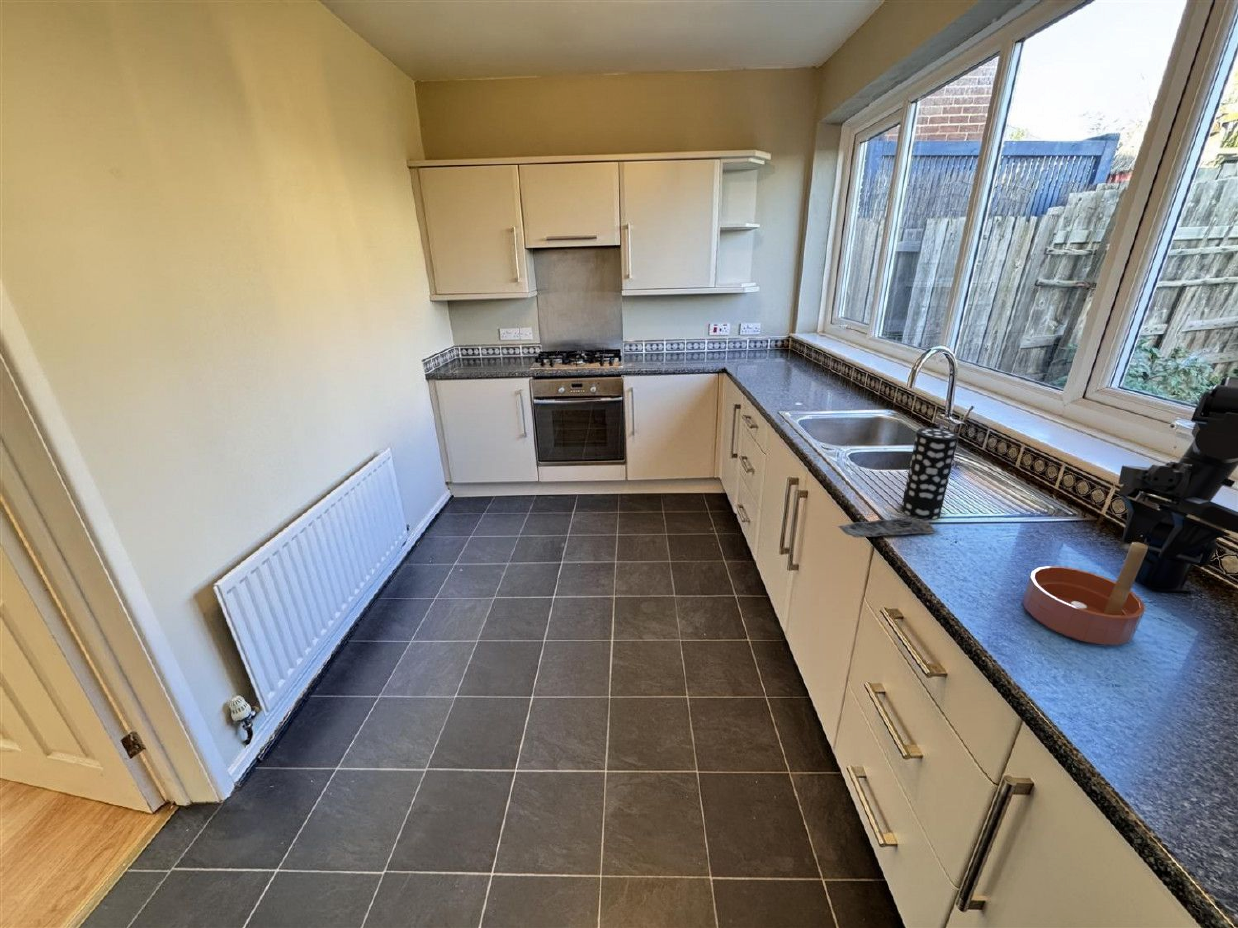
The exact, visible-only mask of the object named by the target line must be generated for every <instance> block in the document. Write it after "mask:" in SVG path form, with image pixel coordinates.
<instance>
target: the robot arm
mask: <svg viewBox="0 0 1238 928" xmlns="http://www.w3.org/2000/svg"><path fill="white" fill-rule="evenodd" d="M1193 411H1194V412H1193V414H1192V416H1191V419H1190V422H1191V423H1193V424H1194V425H1193V428H1192V430H1191V435H1192V437H1193V440H1192V442H1191V444H1190V445H1189V447H1188V448H1186V451H1185V452H1184V454H1183V455H1182V457H1181V458H1180V459H1179V460H1178V462H1177V461H1169V462H1166V463H1165V465H1160V464H1151V465H1150V467H1149V466H1138V465H1137V466H1135V465H1121V468H1120V474H1119V478H1118V483H1117V484H1118V485H1120V486H1121V487H1120V489H1119V490H1118V491H1117V493H1118V494H1119V495H1122V496H1120V499H1121V500H1122V501H1123V503H1124V504H1125V505H1126V508H1127V517H1126V522H1125V526H1124V530H1123V536H1122V539H1121V540H1122V542H1124V543H1126V544H1130V545H1131V544H1132V543H1133V542H1136V540H1138V539H1139V538H1140V540H1139V542H1138V543H1142V544H1145V545H1147V546H1148V549H1147V552H1146V554H1145V557H1144V559H1143V561H1142V564H1141V566H1140V569H1139V571H1138V573H1137V576H1136V578H1135V580H1136V581H1138V582H1139V583H1141V584H1142V585H1144V586H1145V587H1147V588H1148V589H1150V590H1151V591H1153V592H1157V593H1158V592H1160V593H1161V592H1163V593H1192V592H1193V589H1192V588H1191V587H1188V586H1187V585H1186V582H1187V580H1188V578H1189V575H1190V573H1191V571H1192V569H1193V567H1194V566H1196V567H1198V568H1203V567H1204V566H1209V565H1210V563H1211V561H1212V560H1213V559H1212V558H1213V557H1214V555H1215V554H1216V552H1217V550H1218V549H1219V544H1218V543H1217V539H1219V538H1222V537H1229V536H1230V535H1231V533H1234V534H1238V511H1236V510H1234V509H1231V508H1228V507H1226V506H1224V505H1221V504H1219V503H1217V502H1213V501H1212V500H1213V499H1214V498H1215V496H1216V495H1217V494H1218V492H1219V491H1220V490H1221V488H1222V487H1223V486H1224V487H1227V488H1232V487H1233V485H1235V483H1236V481H1235V480H1233V479H1231V478H1230V477H1231V476H1232V474H1233V473H1234V472H1235V470H1236V468H1237V467H1238V377H1237V376H1227V377H1224V376H1223V377H1222V379H1221V381H1220V383H1219V384H1214V385H1213V387H1212V388H1210V389H1209V390H1208V389H1207V390H1204V392H1202V393H1201V395H1200V397H1199V399H1198V402H1197V404H1196V406H1195V409H1194V410H1193ZM1227 531H1228V532H1227ZM1229 532H1231V533H1229Z"/></svg>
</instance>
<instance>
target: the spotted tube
mask: <svg viewBox="0 0 1238 928" xmlns="http://www.w3.org/2000/svg"><path fill="white" fill-rule="evenodd" d="M959 439H960V434H958V433H956V432H954V431H952V430H949V429H944V428H936V427H923V428H922V427H921V428H918V429H917V430H916V433H915V439H914V444H913V449H912V453H911V457H910V463H909V468H908V473H907V477H906V482H905V487H904V492H903V496H902V502H901V507H900V509H901V511H902V512H903V513H904V514H906V515H908V516H911V517H912V518H916V519H921V520H936V519H938V518H940V516H941V513H942V509H943V504H944V502H945V496H946V492H947V489H948V488H947V487H948V484H949V480H950V476H951V472H952V468H953V463H954V459H955V455H956V451H957V447H958V443H959Z"/></svg>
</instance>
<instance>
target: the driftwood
mask: <svg viewBox="0 0 1238 928" xmlns="http://www.w3.org/2000/svg"><path fill="white" fill-rule="evenodd" d="M837 528H839V529H840V530H841V531H842V532H843V533H844V534H845V535H847V536H851V537H853V538H855V539H859V538H869V537H870V538H871V537H881V536H896V535H897V536H898V535H900V536H901V535H913V534H915V535H916V534H928V535H929V534H931V535H932V534H936V532H937V531H936V529H934V527H933V525H931V523H929V522H928V521H925V520H924V519H920V518H917V517H904V518H903V517H900V518H899V517H898V518H891V519H876V520H870V521H863V522H862V521H856V522H852V523H849V524H842V525H839V526H837Z"/></svg>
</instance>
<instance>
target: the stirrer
mask: <svg viewBox="0 0 1238 928" xmlns="http://www.w3.org/2000/svg"><path fill="white" fill-rule="evenodd" d="M1147 549H1148V546H1147V545H1145V544H1142V543H1139V542H1138V541H1133V542H1132V543H1130V547H1129V549H1128V551H1127V554H1126V556H1125V559H1124V561H1123V563H1122V566H1121V569H1120V572H1119V573H1118V576H1117V579H1116V581H1115V582H1116V583H1115V586H1114V588H1113V591H1112V593H1111V596H1110V598H1109V601H1108V603H1107V606H1106V608H1105V611H1104V613H1103V614H1107V615H1120V614H1121V611H1122V609H1123V607H1124V604H1125V602H1126V599H1127V597H1128V595H1129V592H1130V591H1131V590H1132V587H1133V585H1134V583H1135V580H1136V579H1135V578H1136V576H1137V573H1138V571H1139V569H1140V566H1141V564H1142V561H1143V559H1144V557H1145V554H1146V552H1147ZM1059 600H1060V599H1059ZM1061 601H1062V600H1061ZM1064 602H1065V601H1064ZM1066 603H1067V602H1066ZM1068 604H1069V603H1068ZM1071 605H1073V606H1075V607H1079V608H1082V609H1085V610H1086V609H1087V606H1086V605H1085V604H1083V603H1080V602H1077V601H1073V602H1071Z"/></svg>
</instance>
